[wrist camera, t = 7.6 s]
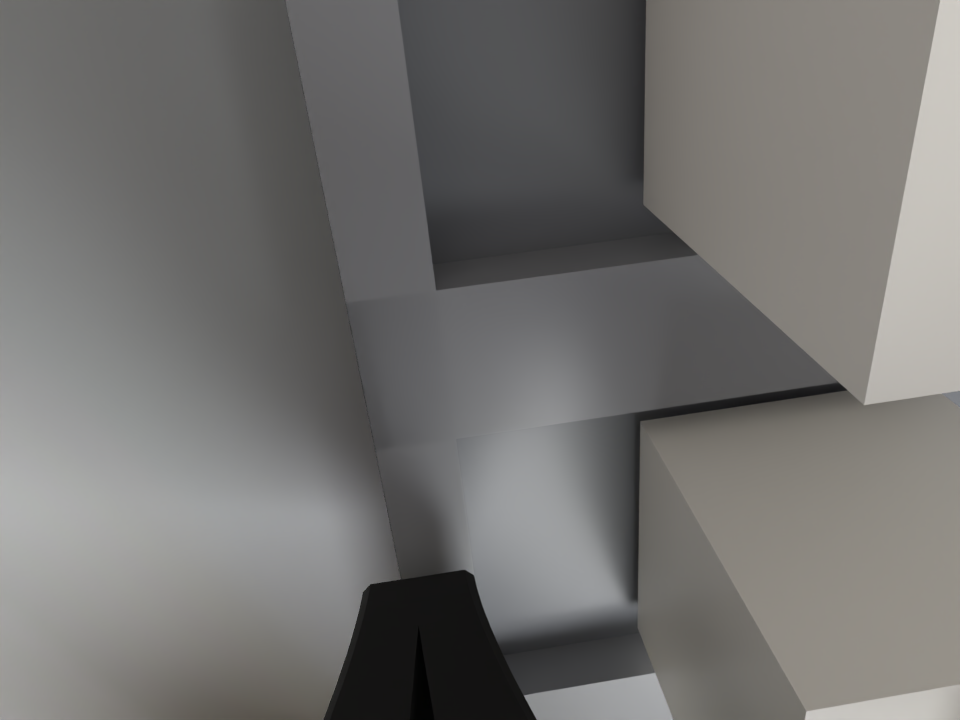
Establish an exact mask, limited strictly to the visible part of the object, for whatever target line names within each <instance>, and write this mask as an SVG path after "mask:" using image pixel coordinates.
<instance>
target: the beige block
mask: <svg viewBox="0 0 960 720" xmlns="http://www.w3.org/2000/svg"><path fill="white" fill-rule="evenodd" d="M643 205H644V206H645V207H646V208H647V209H649V210H650V211H651V212H652V213H653V214H654V215H655V216H656V217H657V218H658V219H660V220H661V221H662V222H663V223H664V224H665V225H666V226H667V227H668V228H669V229H671V230H672V231H673V232H674V233H675V234H676V235H677V236H678V237H679V238H680V239H682V240H683V241H684V242H685V243H686V244H687V245H688V246H689V247H690V248H691V249H693V250H694V251H695V252H696V253H697V254H698V255H699V256H700V257H701V258H703V259H704V260H705V261H706V262H707V263H708V264H709V265H710V266H711V267H712V268H714V269H715V270H716V271H717V272H718V273H719V274H720V275H721V276H722V277H723V278H725V279H726V280H727V281H728V282H729V283H730V284H731V285H732V286H733V287H734V288H736V289H737V290H738V291H739V292H740V293H741V294H742V295H743V296H744V297H745V298H747V299H748V300H749V301H750V302H751V303H752V304H753V305H754V306H755V307H756V308H758V309H759V310H760V311H761V312H762V313H763V314H764V315H765V316H766V317H767V318H769V319H770V320H771V321H772V322H773V323H774V324H775V325H776V326H777V327H778V328H780V329H781V330H782V331H783V332H784V333H785V334H786V335H787V336H788V337H789V338H791V339H792V340H793V341H794V342H795V343H796V344H797V345H798V346H799V347H800V348H802V349H803V350H804V351H805V352H806V353H807V354H808V355H809V356H810V357H812V358H813V359H814V360H815V361H816V362H817V363H818V364H819V365H820V366H821V367H823V368H824V369H825V370H826V371H827V372H828V373H829V374H830V375H831V376H832V377H834V378H835V379H836V380H837V381H838V382H839V383H840V384H841V385H842V386H843V387H845V388H846V389H847V390H848V391H849V392H850V393H851V394H852V395H853V396H854V397H856V398H857V399H858V400H859V401H860V402H861V403H862V404H863V405H869V404H876V403H882V402H889V401H896V400H902V399H909V398H915V397H922V396H929V395H935V394H942V393H949V392H955V391H960V0H646V46H645V118H644V191H643Z"/></svg>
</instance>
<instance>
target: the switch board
mask: <svg viewBox="0 0 960 720" xmlns="http://www.w3.org/2000/svg"><path fill="white" fill-rule="evenodd" d="M285 3H286V7H287V12H288V17H289V22H290V27H291V32H292V37H293V42H294V47H295V52H296V57H297V62H298V67H299V72H300V77H301V82H302V87H303V92H304V97H305V102H306V107H307V112H308V117H309V122H310V127H311V132H312V137H313V142H314V147H315V152H316V157H317V162H318V167H319V172H320V177H321V182H322V187H323V192H324V197H325V202H326V207H327V212H328V217H329V222H330V227H331V232H332V237H333V242H334V247H335V252H336V257H337V262H338V267H339V272H340V277H341V282H342V287H343V292H344V297H345V302H346V307H347V312H348V317H349V322H350V327H351V332H352V337H353V342H354V347H355V352H356V357H357V362H358V367H359V372H360V377H361V382H362V387H363V392H364V397H365V402H366V407H367V412H368V417H369V422H370V427H371V432H372V437H373V442H374V447H375V452H376V457H377V462H378V467H379V472H380V477H381V482H382V486H383V491H384V496H385V501H386V506H387V511H388V516H389V521H390V526H391V531H392V536H393V541H394V546H395V551H396V556H397V561H398V566H399V571H400V576H401V580H402V579H408V578H415V577H421V576H427V575H434V574H440V573H446V572H453V571H459V570H466V571H468V572H470V573H471V574H473V575H474V577H475V582H476V586H477V590H478V593H479V596H480V599H481V603H482V606H483V608H484V611H485V614H486V616H487V619H488V621H489V624H490V626H491V629H492V631H493V634H494V636H495V638H496V640H497V642H498V645H499V647H500V649H501V651H502V654H503V656H504V658H505V660H506V662H507V664H508V666H509V668H510V670H511V672H512V674H513V676H514V678H515V680H516V682H517V684H518V686H519V688H520V689H521V691H522V693H523V695H524V697H525V699H526V701H527V702H528V704H529V706H530V708H531V710H532V712H533V714H534V715H535V717H536V719H537V720H673V717H672V715H671V712H670V710H669V707H668V704H667V702H666V699H665V697H664V694H663V692H662V689H661V687H660V684H659V681H658V679H657V676H656V674H655V671H654V669H653V666H652V663H651V661H650V658H649V656H648V653H647V651H646V648H645V645H644V643H643V640H642V638H641V635H640V633H639V630H638V628H637V627H638V554H639V482H640V421H645V420H652V419H659V418H665V417H672V416H679V415H686V414H692V413H699V412H706V411H712V410H719V409H726V408H733V407H739V406H746V405H753V404H759V403H766V402H773V401H780V400H786V399H793V398H800V397H807V396H813V395H820V394H827V393H833V392H840V391H847V389H846V388H845V387H843V386H842V385H841V384H840V383H839V382H838V381H837V380H836V379H835V378H834V377H832V376H831V375H830V374H829V373H828V372H827V371H826V370H825V369H824V368H823V367H821V366H820V365H819V364H818V363H817V362H816V361H815V360H814V359H813V358H812V357H810V356H809V355H808V354H807V353H806V352H805V351H804V350H803V349H802V348H800V347H799V346H798V345H797V344H796V343H795V342H794V341H793V340H792V339H791V338H789V337H788V336H787V335H786V334H785V333H784V332H783V331H782V330H781V329H780V328H778V327H777V326H776V325H775V324H774V323H773V322H772V321H771V320H770V319H769V318H767V317H766V316H765V315H764V314H763V313H762V312H761V311H760V310H759V309H758V308H756V307H755V306H754V305H753V304H752V303H751V302H750V301H749V300H748V299H747V298H745V297H744V296H743V295H742V294H741V293H740V292H739V291H738V290H737V289H736V288H734V287H733V286H732V285H731V284H730V283H729V282H728V281H727V280H726V279H725V278H723V277H722V276H721V275H720V274H719V273H718V272H717V271H716V270H715V269H714V268H712V267H711V266H710V265H709V264H708V263H707V262H706V261H705V260H704V259H703V258H701V257H700V256H699V255H698V254H697V253H696V252H695V251H694V250H693V249H691V248H690V247H689V246H688V245H687V244H686V243H685V242H684V241H683V240H682V239H680V238H679V237H678V236H677V235H676V234H675V233H674V232H673V231H672V230H671V229H669V228H668V227H667V226H666V225H665V224H664V223H663V222H662V221H661V220H660V219H658V218H657V217H656V216H655V215H654V214H653V213H652V212H651V211H650V210H649V209H647V208H646V207H645V206H644V205H643V191H644V118H645V46H646V0H285ZM942 394H943V395H944V396H945V397H947V398H948V399H949V400H951V401H952V402H953V403H955V404H956V405H957V406H958V407H960V391H955V392H949V393H942Z"/></svg>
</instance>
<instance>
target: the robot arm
mask: <svg viewBox="0 0 960 720" xmlns="http://www.w3.org/2000/svg"><path fill="white" fill-rule="evenodd" d="M324 720H537V719H536V717H535V715H534V714H533V712H532V710H531V708H530V706H529V704H528V702H527V701H526V699H525V697H524V695H523V693H522V691H521V689H520V688H519V686H518V684H517V682H516V680H515V678H514V676H513V674H512V672H511V670H510V668H509V666H508V664H507V662H506V660H505V658H504V656H503V654H502V651H501V649H500V647H499V645H498V642H497V640H496V638H495V636H494V634H493V631H492V629H491V626H490V624H489V621H488V619H487V616H486V614H485V611H484V608H483V606H482V603H481V599H480V596H479V593H478V590H477V586H476V582H475V577H474V575H473V574H471V573H470V572H468V571H466V570H459V571H453V572H446V573H440V574H434V575H427V576H421V577H415V578H408V579H402V580H396V581H389V582H383V583H377V584H370V586H369V587H368V588H367V589H366V590H365V591H364V592H363V595H362V600H361V605H360V609H359V614H358V617H357V621H356V625H355V629H354V632H353V636H352V639H351V642H350V646H349V649H348V652H347V655H346V658H345V661H344V664H343V667H342V670H341V673H340V676H339V679H338V682H337V685H336V688H335V691H334V694H333V696H332V699H331V701H330V704H329V707H328V709H327V712H326V715H325V717H324Z"/></svg>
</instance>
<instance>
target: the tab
mask: <svg viewBox="0 0 960 720" xmlns="http://www.w3.org/2000/svg"><path fill="white" fill-rule="evenodd" d="M637 628H638V630H639V633H640V635H641V638H642V640H643V643H644V645H645V648H646V651H647V653H648V656H649V658H650V661H651V663H652V666H653V669H654V671H655V674H656V676H657V679H658V681H659V684H660V687H661V689H662V692H663V694H664V697H665V699H666V702H667V704H668V707H669V710H670V712H671V715H672V717H673V720H960V407H958V406H957V405H956V404H955V403H953V402H952V401H951V400H949V399H948V398H947V397H945V396H944V395H943V394H935V395H929V396H922V397H915V398H909V399H902V400H896V401H889V402H882V403H876V404H869V405H863V404H862V403H861V402H860V401H859V400H858V399H857V398H856V397H854V396H853V395H852V394H851V393H850V392H849V391H848V390H847V391H840V392H833V393H827V394H820V395H813V396H807V397H800V398H793V399H786V400H780V401H773V402H766V403H759V404H753V405H746V406H739V407H733V408H726V409H719V410H712V411H706V412H699V413H692V414H686V415H679V416H672V417H665V418H659V419H652V420H645V421H640V482H639V554H638V627H637Z"/></svg>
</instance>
